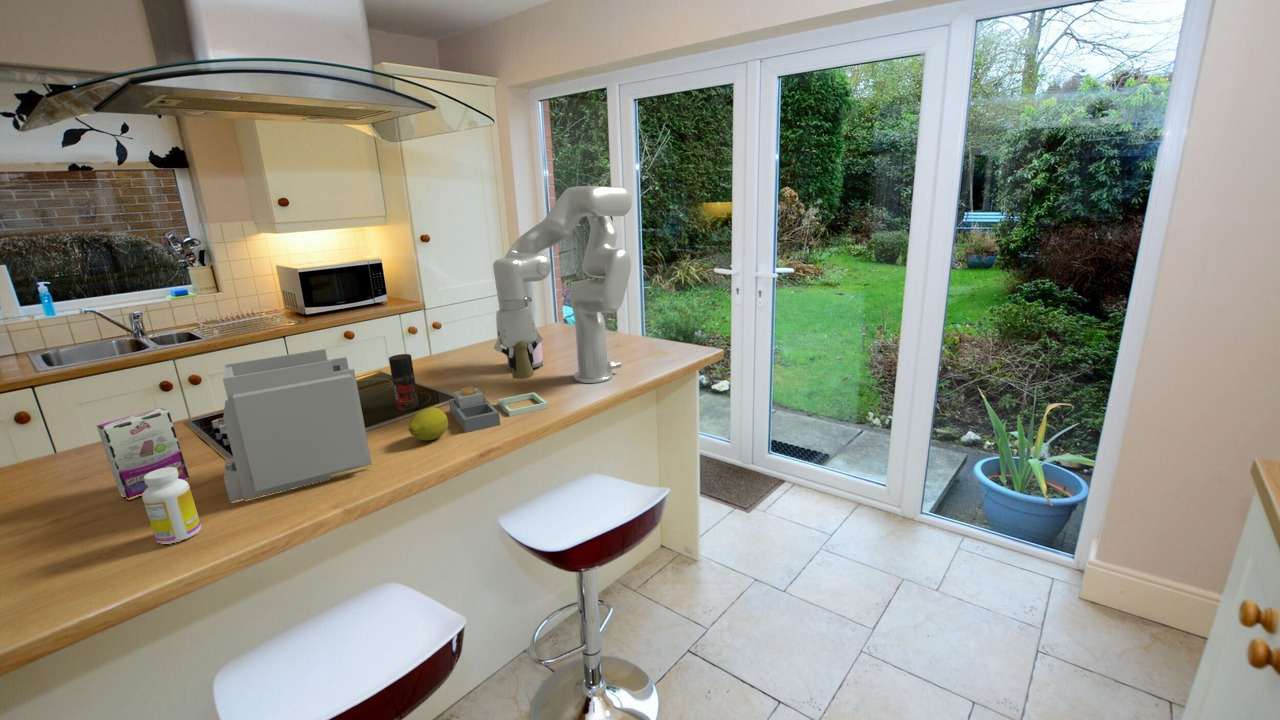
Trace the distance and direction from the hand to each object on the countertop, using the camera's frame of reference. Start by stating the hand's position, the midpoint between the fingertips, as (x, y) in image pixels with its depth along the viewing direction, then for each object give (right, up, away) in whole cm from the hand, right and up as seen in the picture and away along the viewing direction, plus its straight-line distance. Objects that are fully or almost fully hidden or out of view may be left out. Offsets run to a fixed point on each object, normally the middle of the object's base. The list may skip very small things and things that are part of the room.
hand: (522, 367), depth 162 cm
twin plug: (-14, -13, -2) cm, 19 cm away
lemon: (-19, -18, -18) cm, 32 cm away
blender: (-6, 0, +41) cm, 42 cm away
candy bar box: (-72, -26, -37) cm, 85 cm away
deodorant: (-34, -12, +6) cm, 37 cm away
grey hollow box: (-12, -14, -5) cm, 19 cm away
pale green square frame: (0, -11, +2) cm, 11 cm away
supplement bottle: (-51, -30, -56) cm, 82 cm away
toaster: (-41, -24, -34) cm, 58 cm away
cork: (0, -2, +1) cm, 3 cm away
